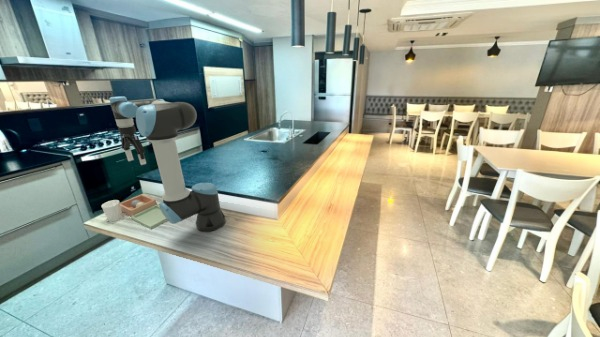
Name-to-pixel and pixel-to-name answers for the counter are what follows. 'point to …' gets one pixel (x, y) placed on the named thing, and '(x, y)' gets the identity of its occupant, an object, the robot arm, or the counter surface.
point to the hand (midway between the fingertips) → (137, 162)
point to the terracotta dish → (132, 211)
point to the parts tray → (150, 217)
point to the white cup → (112, 210)
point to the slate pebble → (134, 203)
